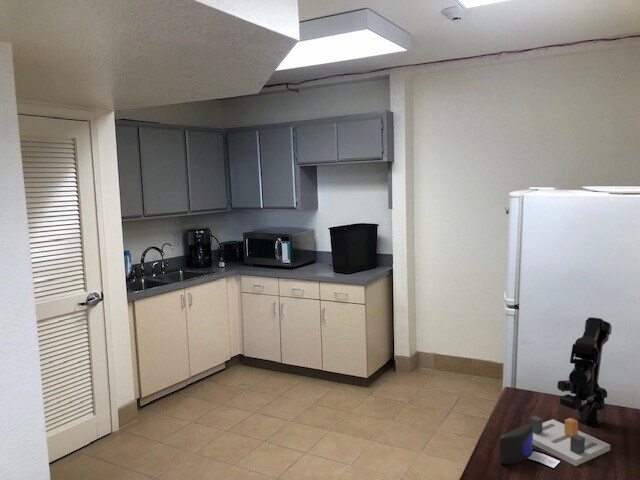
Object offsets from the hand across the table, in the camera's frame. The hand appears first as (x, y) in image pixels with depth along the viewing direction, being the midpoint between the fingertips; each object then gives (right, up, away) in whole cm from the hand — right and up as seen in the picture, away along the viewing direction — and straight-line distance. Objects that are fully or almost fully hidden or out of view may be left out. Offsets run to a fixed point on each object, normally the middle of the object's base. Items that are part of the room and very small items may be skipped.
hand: (582, 419), depth 184 cm
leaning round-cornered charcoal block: (-28, -8, -11) cm, 31 cm away
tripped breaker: (-6, -4, -3) cm, 7 cm away
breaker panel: (-9, -7, -4) cm, 12 cm away
